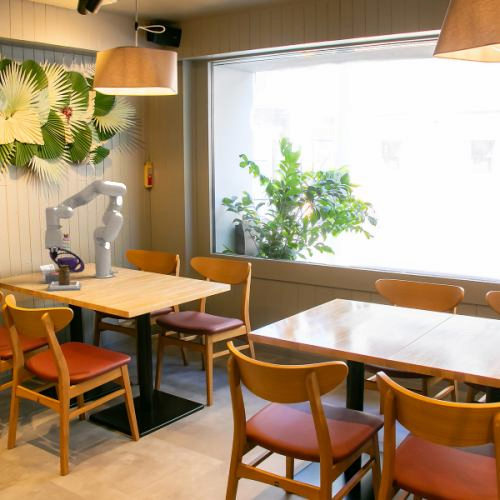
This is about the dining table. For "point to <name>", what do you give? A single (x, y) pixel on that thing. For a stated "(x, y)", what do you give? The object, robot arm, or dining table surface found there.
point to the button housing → (51, 278)
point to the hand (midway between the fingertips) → (55, 258)
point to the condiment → (64, 275)
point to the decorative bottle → (68, 258)
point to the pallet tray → (73, 286)
